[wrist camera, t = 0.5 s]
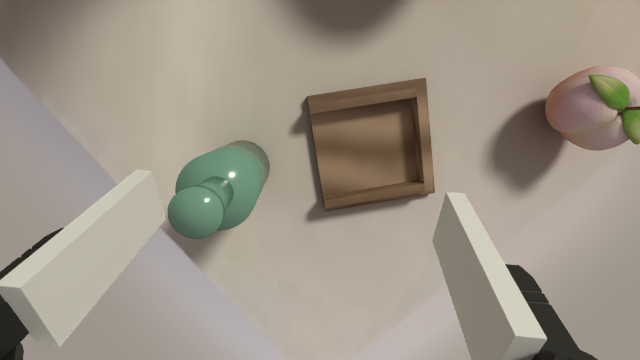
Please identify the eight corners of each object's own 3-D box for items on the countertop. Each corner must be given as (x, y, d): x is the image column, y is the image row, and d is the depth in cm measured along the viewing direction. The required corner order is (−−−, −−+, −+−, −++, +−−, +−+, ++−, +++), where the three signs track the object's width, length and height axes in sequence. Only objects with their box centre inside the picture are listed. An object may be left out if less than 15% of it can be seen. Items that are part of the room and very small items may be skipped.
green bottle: (211, 145, 37) (130, 173, 19) (264, 136, 38) (234, 156, 20) (222, 196, 39) (158, 267, 21) (274, 187, 39) (254, 250, 21)
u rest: (306, 96, 37) (307, 95, 34) (422, 78, 37) (433, 75, 34) (324, 209, 40) (326, 216, 37) (431, 190, 40) (441, 196, 37)
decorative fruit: (604, 103, 40) (705, 100, 30) (560, 155, 41) (643, 168, 31) (555, 56, 38) (644, 35, 28) (510, 111, 39) (581, 110, 29)
